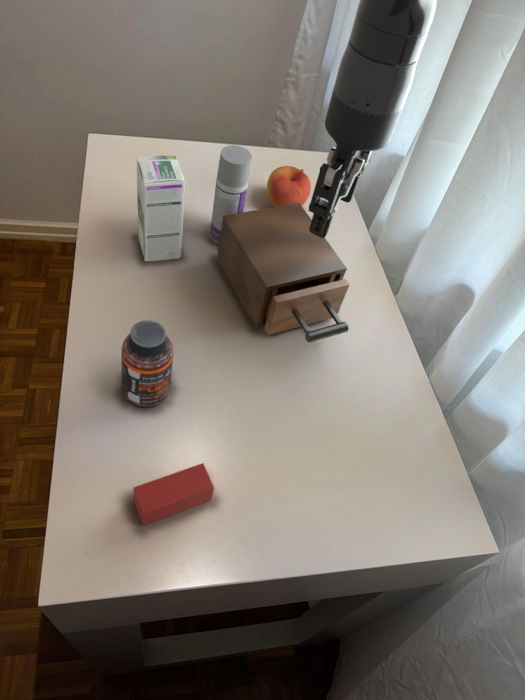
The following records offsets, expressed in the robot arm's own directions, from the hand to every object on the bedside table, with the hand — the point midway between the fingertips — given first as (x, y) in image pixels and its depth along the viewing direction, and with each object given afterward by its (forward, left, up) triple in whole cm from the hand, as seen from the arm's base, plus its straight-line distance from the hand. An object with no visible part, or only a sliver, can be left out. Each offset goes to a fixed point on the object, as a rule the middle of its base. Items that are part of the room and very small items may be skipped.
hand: (330, 215), depth 72 cm
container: (+5, -18, -18) cm, 25 cm away
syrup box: (+16, -18, -18) cm, 29 cm away
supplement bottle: (+26, +6, -18) cm, 32 cm away
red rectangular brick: (+28, +21, -17) cm, 39 cm away
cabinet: (+2, -6, -17) cm, 18 cm away
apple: (-8, -22, -18) cm, 29 cm away
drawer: (+2, 0, -16) cm, 16 cm away
